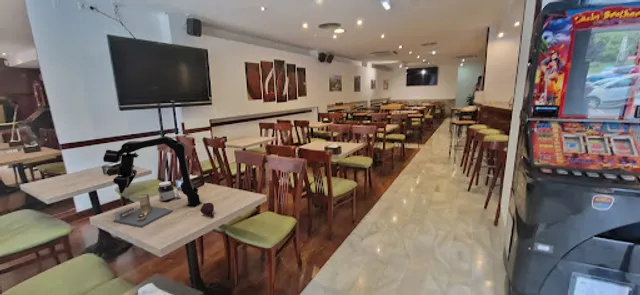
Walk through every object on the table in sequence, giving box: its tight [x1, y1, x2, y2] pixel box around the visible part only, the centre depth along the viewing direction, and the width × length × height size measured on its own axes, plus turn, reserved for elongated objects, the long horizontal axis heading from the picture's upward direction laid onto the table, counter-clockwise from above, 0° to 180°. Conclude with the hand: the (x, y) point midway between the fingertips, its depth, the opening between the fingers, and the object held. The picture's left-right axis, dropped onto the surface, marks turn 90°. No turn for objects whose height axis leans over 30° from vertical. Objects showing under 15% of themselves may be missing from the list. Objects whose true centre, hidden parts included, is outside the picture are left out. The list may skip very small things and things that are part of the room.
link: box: [137, 193, 153, 221], centre depth 148 cm, size 16×4×10 cm, turn 17°
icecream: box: [199, 202, 215, 218], centre depth 150 cm, size 7×7×15 cm
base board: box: [113, 206, 174, 229], centre depth 150 cm, size 22×19×1 cm
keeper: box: [113, 206, 145, 220], centre depth 147 cm, size 14×16×4 cm
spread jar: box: [157, 180, 182, 203], centre depth 173 cm, size 12×11×12 cm
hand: (124, 190), depth 149 cm, fingers open, 9 cm apart
